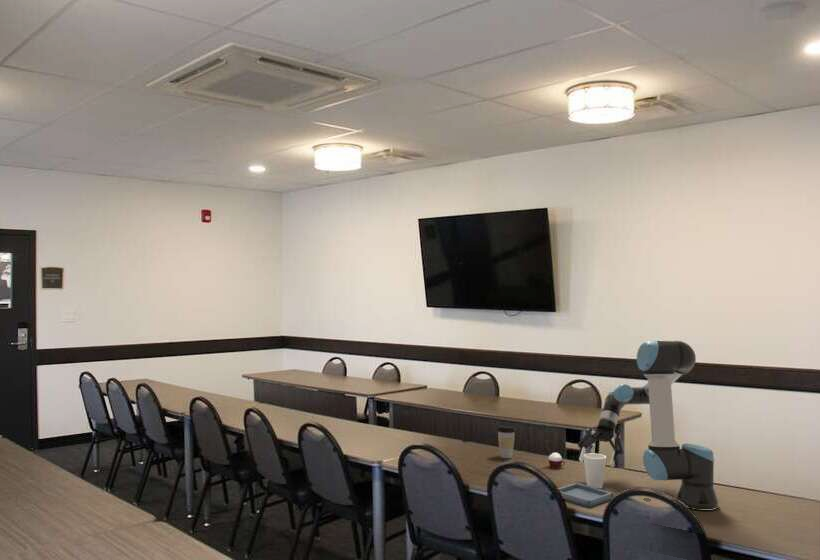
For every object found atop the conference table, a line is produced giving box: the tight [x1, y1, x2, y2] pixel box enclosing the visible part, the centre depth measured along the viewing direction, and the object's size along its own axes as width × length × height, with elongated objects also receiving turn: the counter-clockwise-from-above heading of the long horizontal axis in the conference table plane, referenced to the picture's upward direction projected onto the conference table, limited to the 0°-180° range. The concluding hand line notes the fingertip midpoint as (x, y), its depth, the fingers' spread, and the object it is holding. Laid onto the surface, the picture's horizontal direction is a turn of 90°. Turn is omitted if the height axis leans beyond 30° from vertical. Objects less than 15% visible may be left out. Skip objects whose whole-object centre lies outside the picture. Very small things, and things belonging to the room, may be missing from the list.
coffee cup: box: [496, 424, 517, 459], centre depth 342 cm, size 9×9×15 cm
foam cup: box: [583, 452, 607, 489], centre depth 293 cm, size 10×9×13 cm
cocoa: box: [544, 439, 566, 469], centre depth 324 cm, size 10×6×12 cm, turn 40°
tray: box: [557, 482, 614, 508], centre depth 278 cm, size 18×16×2 cm
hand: (595, 463), depth 296 cm, fingers open, 13 cm apart
